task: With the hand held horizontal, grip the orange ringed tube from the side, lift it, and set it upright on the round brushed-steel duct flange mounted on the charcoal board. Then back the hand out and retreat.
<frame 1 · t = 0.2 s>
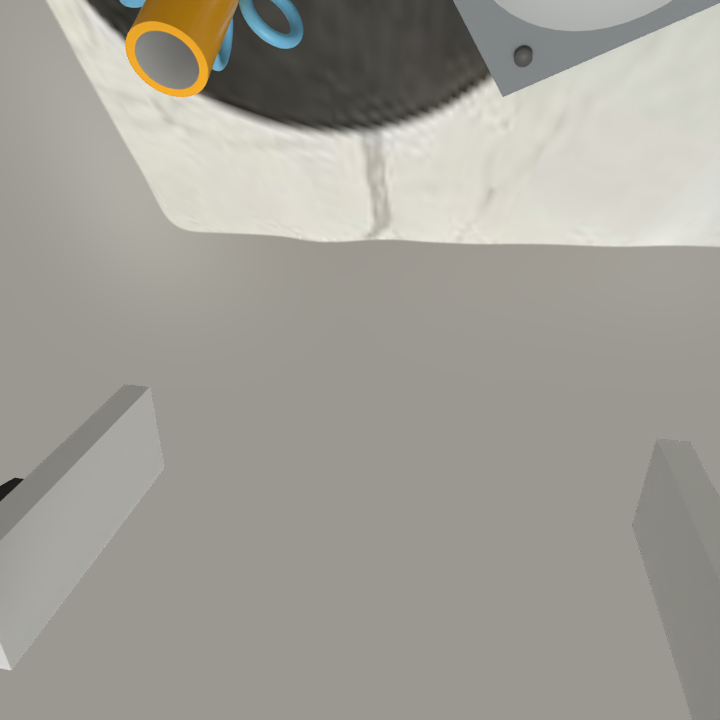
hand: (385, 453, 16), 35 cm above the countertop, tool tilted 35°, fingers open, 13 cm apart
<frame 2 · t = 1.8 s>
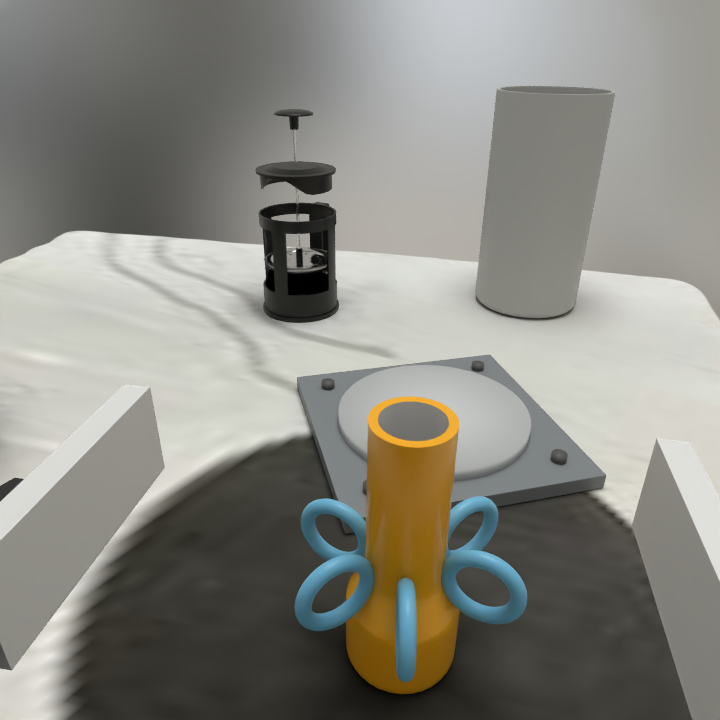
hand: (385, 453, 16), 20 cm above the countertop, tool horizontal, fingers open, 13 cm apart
orange ringed tube: (399, 647, 34), on the countertop
cylinder vase: (523, 302, 78), on the countertop
duct flange: (431, 431, 52), on the countertop
french press: (303, 307, 76), on the countertop
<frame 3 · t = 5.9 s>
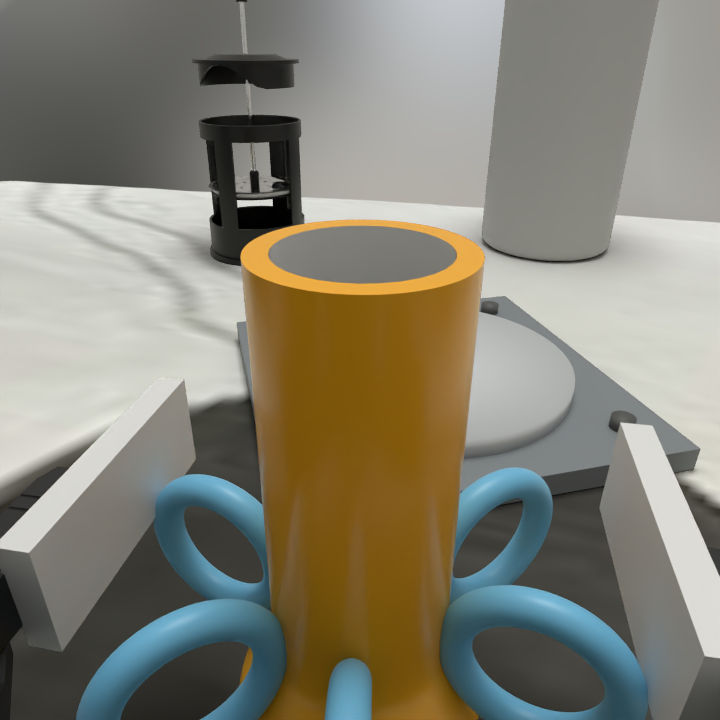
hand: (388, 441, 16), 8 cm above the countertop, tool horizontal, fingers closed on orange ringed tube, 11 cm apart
cylinder vase: (542, 246, 62), on the countertop
duct flange: (425, 392, 35), on the countertop
french press: (262, 251, 60), on the countertop
when the fingers open (12 cm above the countertop, at t = 11.8 s): orange ringed tube drops 1 cm, resting on duct flange.
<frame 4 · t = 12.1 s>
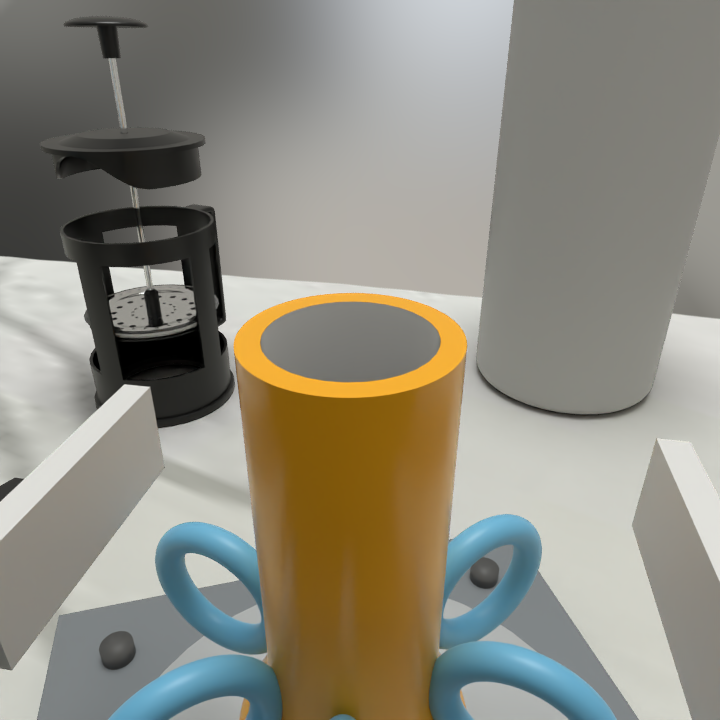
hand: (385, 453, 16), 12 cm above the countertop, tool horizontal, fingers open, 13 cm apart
cylinder vase: (559, 376, 45), on the countertop
french press: (172, 390, 43), on the countertop
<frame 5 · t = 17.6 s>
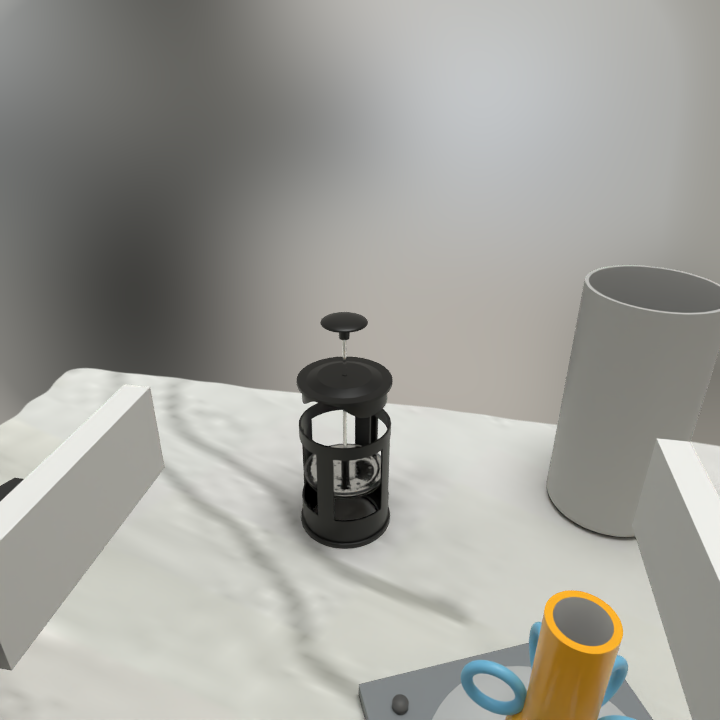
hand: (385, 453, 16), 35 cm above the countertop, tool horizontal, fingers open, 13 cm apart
cylinder vase: (603, 501, 67), on the countertop
french press: (347, 514, 65), on the countertop
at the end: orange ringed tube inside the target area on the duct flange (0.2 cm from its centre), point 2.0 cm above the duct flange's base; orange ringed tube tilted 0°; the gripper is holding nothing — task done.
